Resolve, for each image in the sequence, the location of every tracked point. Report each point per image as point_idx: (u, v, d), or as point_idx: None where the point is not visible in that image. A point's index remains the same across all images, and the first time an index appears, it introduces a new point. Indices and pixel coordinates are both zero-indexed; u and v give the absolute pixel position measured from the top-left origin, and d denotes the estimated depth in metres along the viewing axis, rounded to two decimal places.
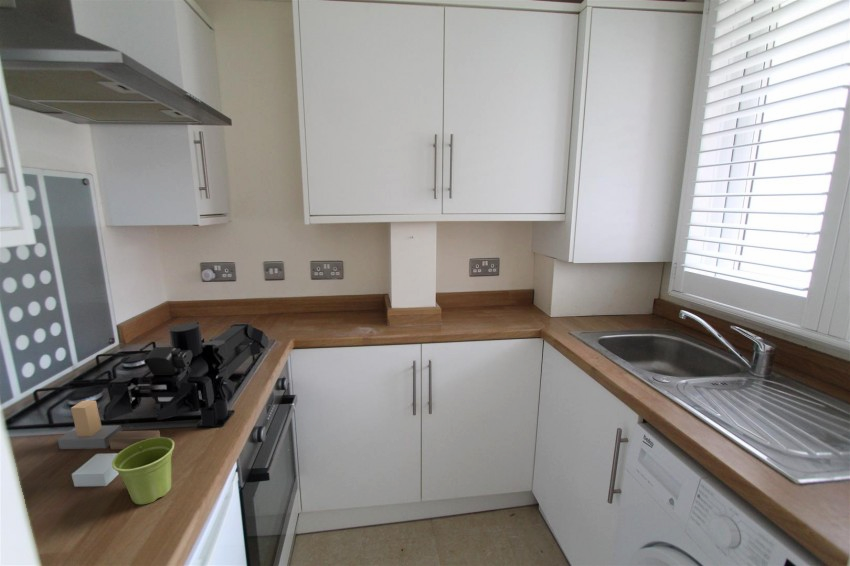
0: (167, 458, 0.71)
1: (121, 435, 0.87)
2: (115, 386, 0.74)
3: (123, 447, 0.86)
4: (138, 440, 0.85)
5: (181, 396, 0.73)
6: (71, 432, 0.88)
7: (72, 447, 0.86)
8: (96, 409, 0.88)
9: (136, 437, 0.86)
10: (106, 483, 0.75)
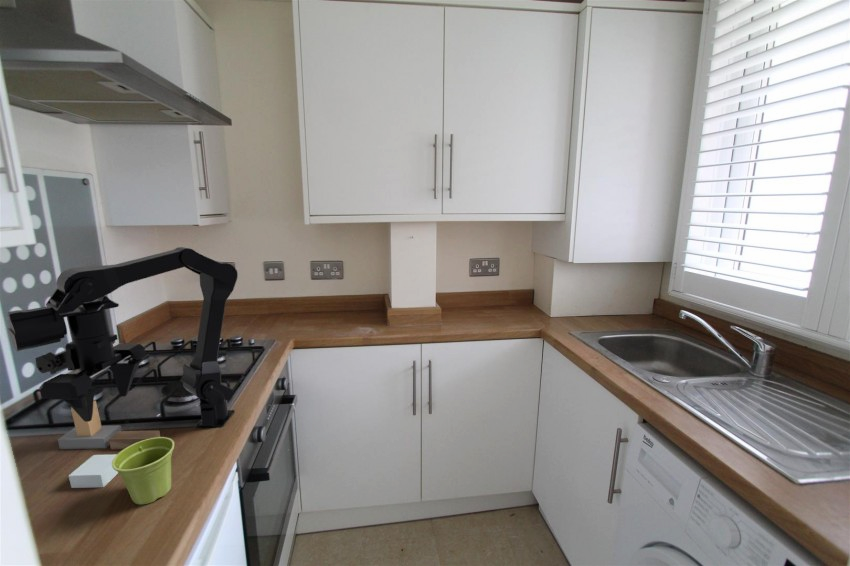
0: (167, 458, 0.71)
1: (121, 435, 0.87)
2: None
3: (123, 447, 0.86)
4: (138, 440, 0.85)
5: None
6: (71, 432, 0.88)
7: (72, 447, 0.86)
8: (96, 409, 0.88)
9: (136, 437, 0.86)
10: (103, 484, 0.75)
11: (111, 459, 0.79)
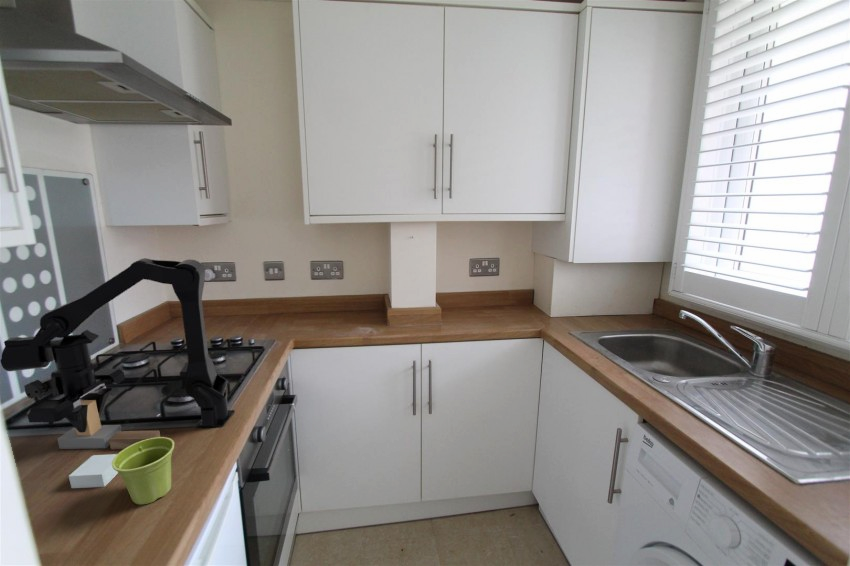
0: (167, 458, 0.71)
1: (121, 435, 0.87)
2: None
3: (123, 447, 0.86)
4: (138, 440, 0.85)
5: None
6: (71, 431, 0.88)
7: (72, 447, 0.86)
8: (96, 408, 0.88)
9: (136, 437, 0.86)
10: (104, 484, 0.75)
11: (111, 459, 0.79)
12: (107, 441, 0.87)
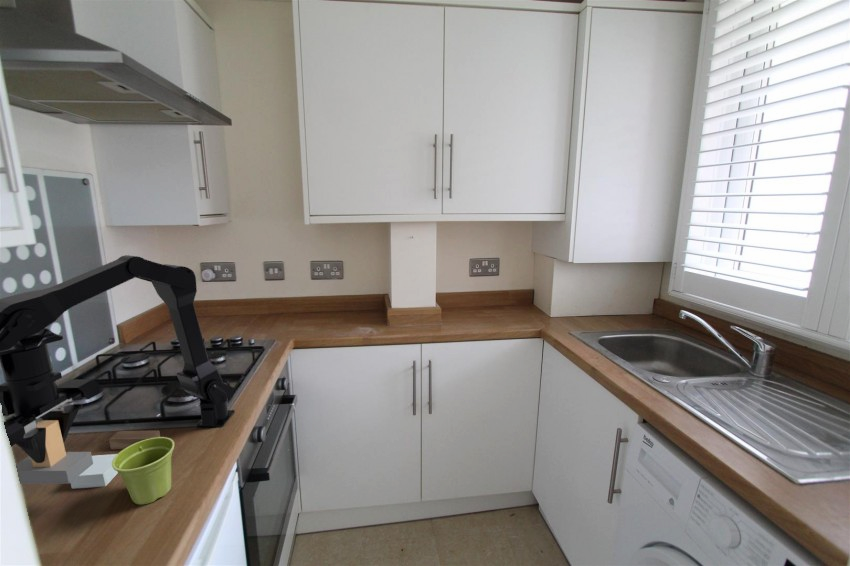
0: (167, 458, 0.71)
1: (121, 435, 0.87)
2: None
3: (123, 447, 0.86)
4: (138, 440, 0.85)
5: None
6: (27, 460, 0.69)
7: (26, 481, 0.66)
8: (58, 431, 0.69)
9: (136, 437, 0.86)
10: (105, 483, 0.75)
11: (111, 459, 0.79)
12: (72, 474, 0.67)
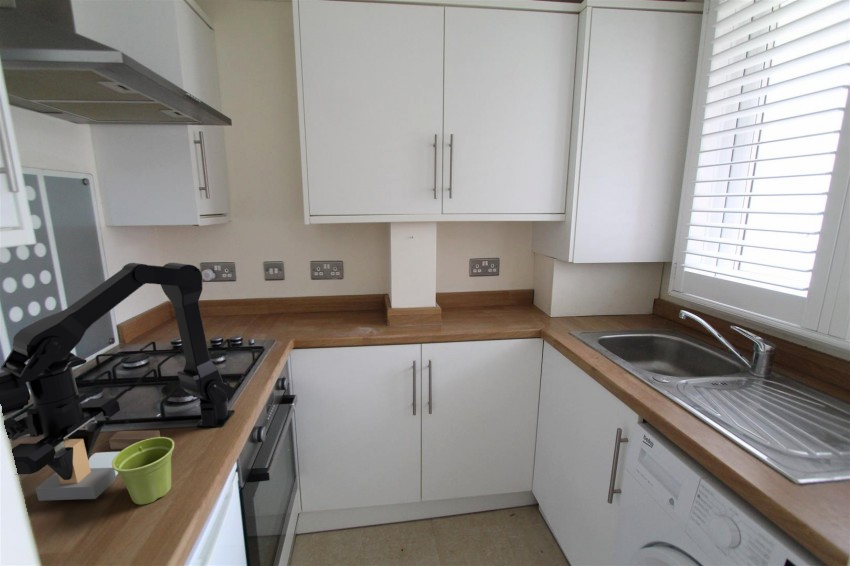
0: (167, 458, 0.71)
1: (121, 435, 0.87)
2: None
3: (123, 447, 0.86)
4: (138, 440, 0.85)
5: None
6: (53, 478, 0.72)
7: (54, 497, 0.70)
8: (84, 449, 0.72)
9: (136, 437, 0.86)
10: None
11: (114, 456, 0.79)
12: (98, 490, 0.71)
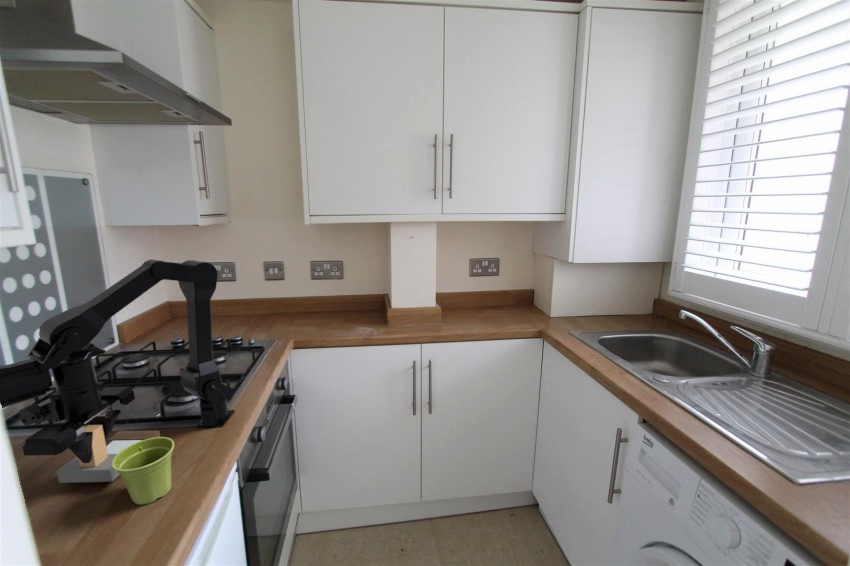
0: (167, 458, 0.71)
1: (121, 435, 0.87)
2: None
3: None
4: None
5: None
6: (73, 462, 0.76)
7: (73, 480, 0.74)
8: (102, 435, 0.76)
9: (136, 437, 0.86)
10: None
11: (129, 444, 0.83)
12: (114, 473, 0.75)
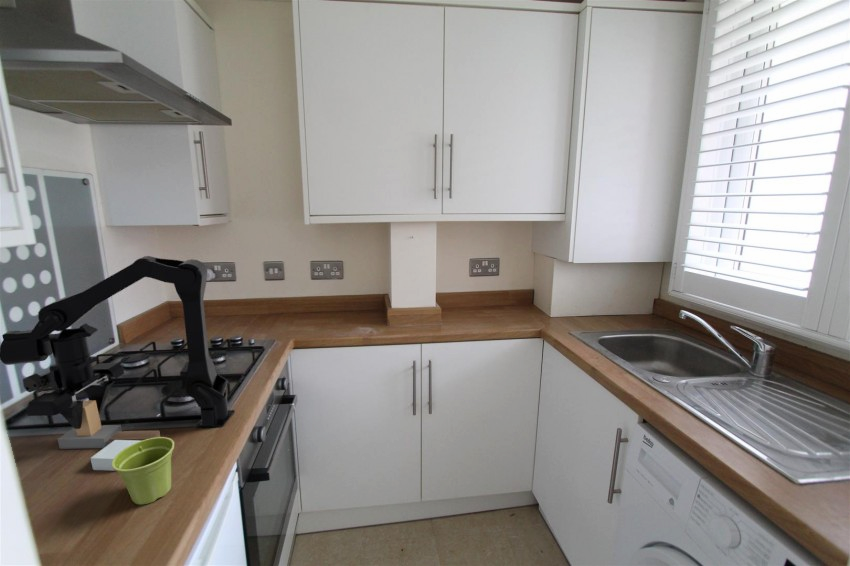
0: (167, 458, 0.71)
1: (121, 435, 0.87)
2: None
3: None
4: (138, 440, 0.85)
5: None
6: (71, 431, 0.88)
7: (72, 447, 0.86)
8: (96, 409, 0.88)
9: (136, 437, 0.86)
10: None
11: None
12: (107, 441, 0.87)
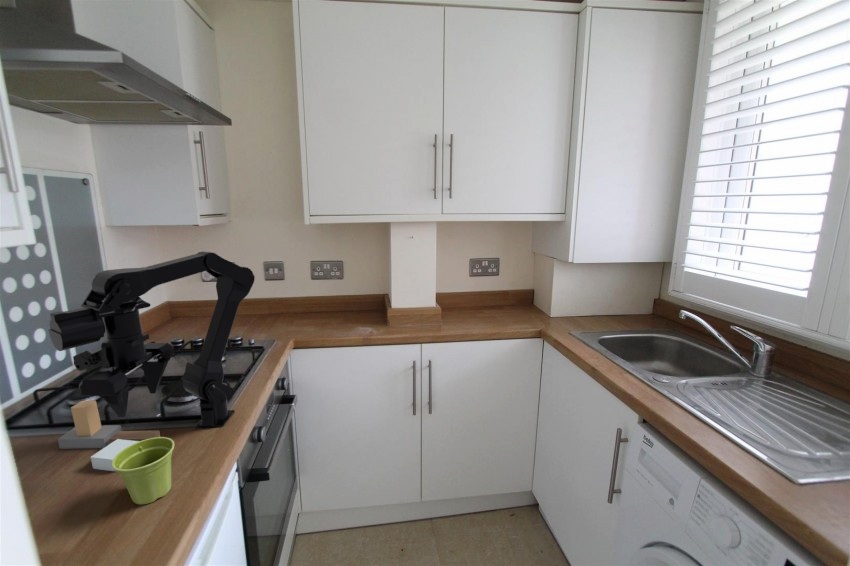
0: (167, 458, 0.71)
1: (121, 435, 0.87)
2: None
3: None
4: (138, 440, 0.85)
5: None
6: (71, 432, 0.88)
7: (72, 447, 0.86)
8: (96, 409, 0.88)
9: (136, 437, 0.86)
10: None
11: None
12: (107, 441, 0.87)
